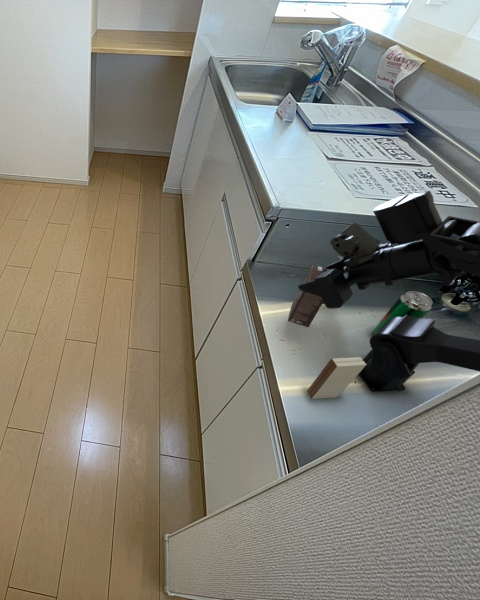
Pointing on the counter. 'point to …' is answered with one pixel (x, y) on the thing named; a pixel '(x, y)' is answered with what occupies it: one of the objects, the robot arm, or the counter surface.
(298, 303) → the box
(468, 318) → the counter surface
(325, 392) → the cream books
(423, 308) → the soda can
